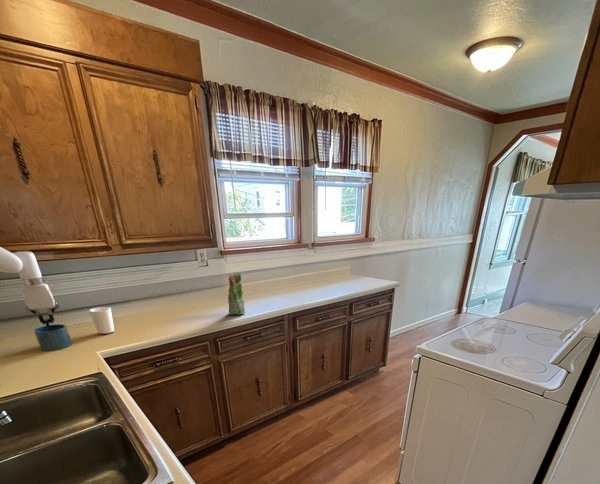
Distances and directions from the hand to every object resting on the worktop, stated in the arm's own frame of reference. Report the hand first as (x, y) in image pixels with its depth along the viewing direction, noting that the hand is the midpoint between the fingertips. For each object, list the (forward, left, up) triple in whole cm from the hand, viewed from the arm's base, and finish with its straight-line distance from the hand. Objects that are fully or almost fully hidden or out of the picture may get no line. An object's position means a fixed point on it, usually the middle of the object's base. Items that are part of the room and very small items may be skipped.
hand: (48, 322), depth 150 cm
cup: (+22, +10, -12) cm, 27 cm away
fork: (0, 0, 0) cm, 1 cm away
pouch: (+96, +8, -12) cm, 97 cm away
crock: (0, 0, -12) cm, 12 cm away
